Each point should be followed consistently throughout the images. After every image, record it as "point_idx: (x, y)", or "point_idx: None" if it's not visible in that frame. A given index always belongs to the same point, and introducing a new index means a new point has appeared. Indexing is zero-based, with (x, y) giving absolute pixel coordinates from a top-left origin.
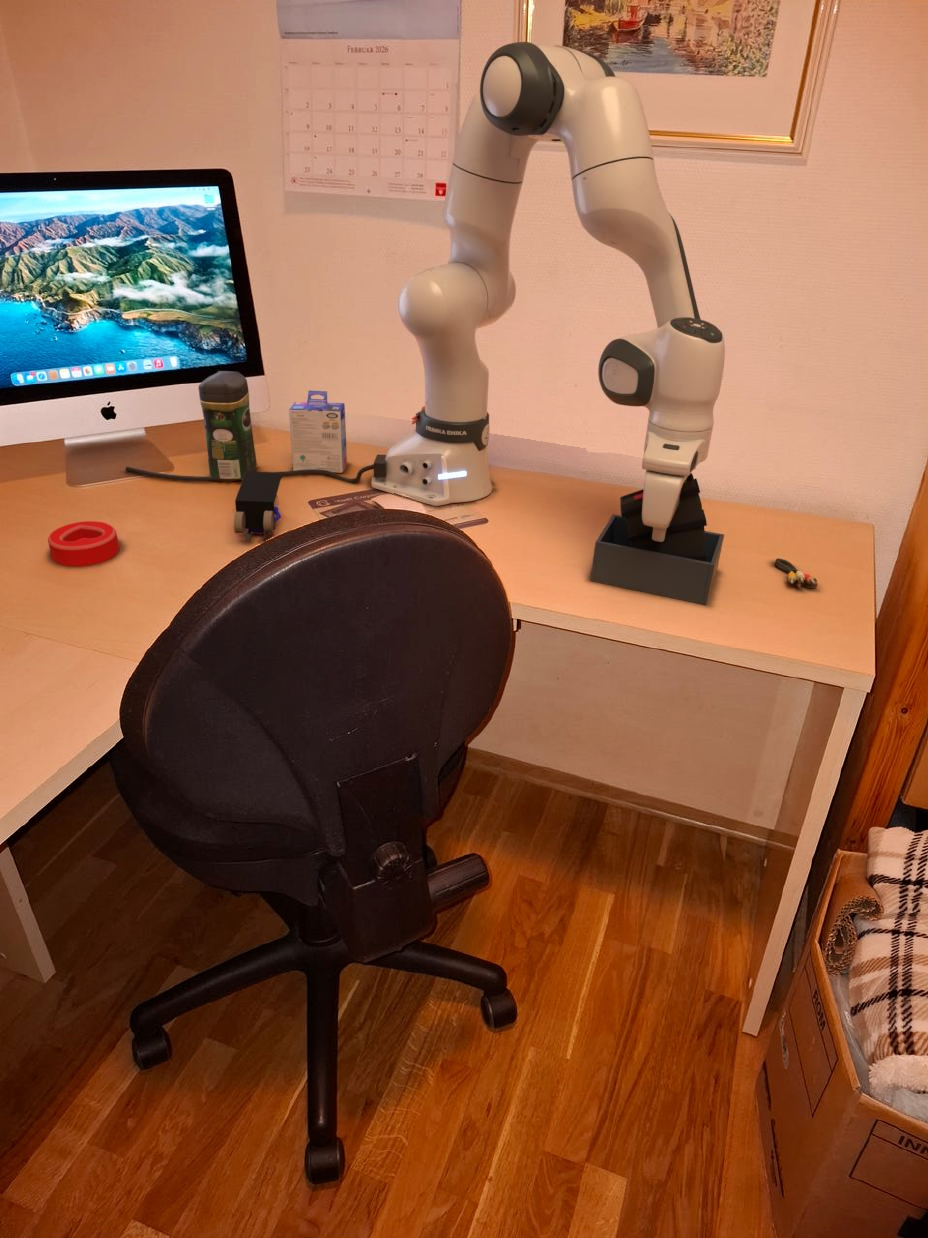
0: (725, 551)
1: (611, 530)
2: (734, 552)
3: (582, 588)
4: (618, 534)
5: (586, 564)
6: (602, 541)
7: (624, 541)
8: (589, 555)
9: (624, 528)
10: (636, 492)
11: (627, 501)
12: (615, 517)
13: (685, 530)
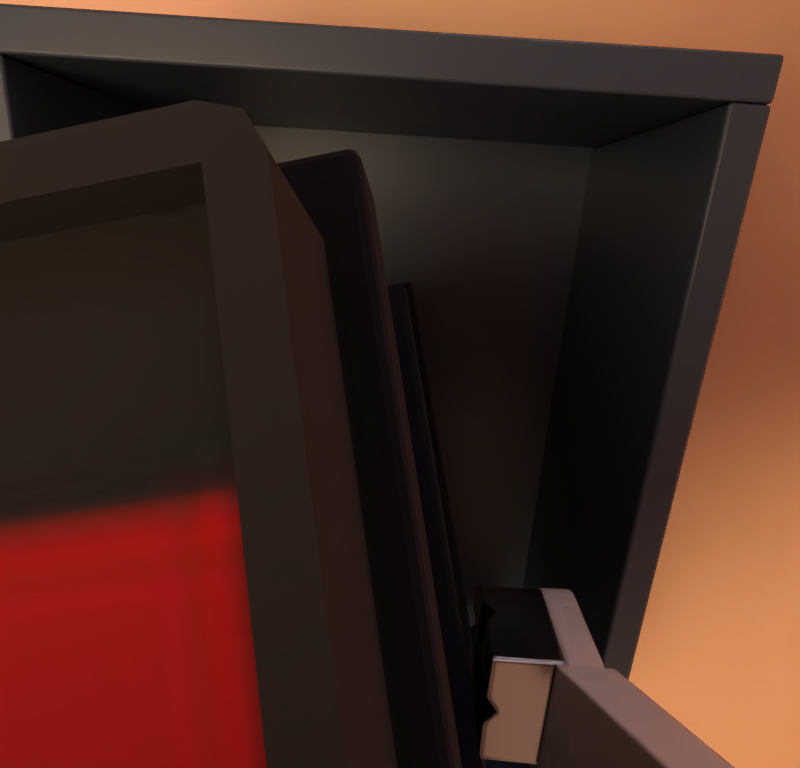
0: (758, 694)
1: (553, 112)
2: (755, 725)
3: None
4: (634, 177)
5: (372, 18)
6: (151, 75)
7: (603, 234)
8: (512, 9)
9: (649, 222)
10: (250, 608)
11: (20, 343)
12: (714, 104)
13: None
